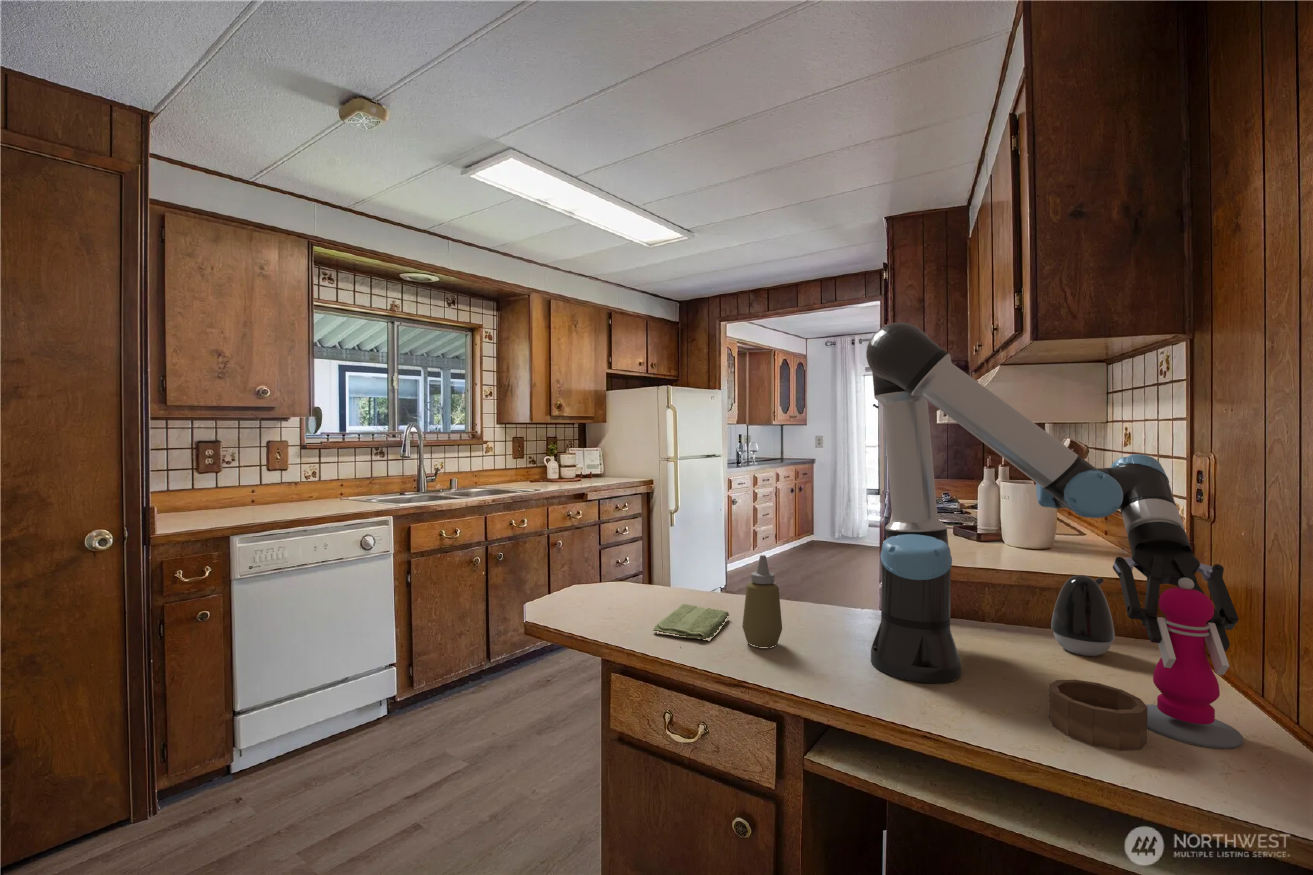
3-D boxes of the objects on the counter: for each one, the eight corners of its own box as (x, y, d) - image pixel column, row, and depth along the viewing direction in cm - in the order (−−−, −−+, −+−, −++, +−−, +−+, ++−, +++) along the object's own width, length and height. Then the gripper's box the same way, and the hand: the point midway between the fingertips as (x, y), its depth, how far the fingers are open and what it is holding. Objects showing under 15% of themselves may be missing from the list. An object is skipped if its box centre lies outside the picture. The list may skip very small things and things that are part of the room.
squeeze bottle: (737, 648, 116) (738, 557, 116) (747, 635, 124) (747, 550, 124) (778, 654, 113) (779, 561, 113) (785, 640, 120) (786, 553, 121)
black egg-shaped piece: (1128, 658, 113) (1128, 579, 113) (1088, 663, 110) (1088, 582, 110) (1077, 640, 123) (1077, 568, 123) (1038, 645, 120) (1039, 571, 120)
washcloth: (650, 637, 123) (650, 621, 123) (680, 614, 140) (680, 601, 140) (709, 646, 118) (709, 630, 118) (733, 621, 134) (733, 607, 134)
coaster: (1119, 721, 87) (1119, 717, 87) (1146, 701, 94) (1146, 698, 94) (1230, 758, 77) (1230, 753, 77) (1251, 732, 84) (1252, 728, 84)
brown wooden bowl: (1036, 724, 86) (1036, 690, 86) (1067, 705, 92) (1068, 674, 92) (1129, 758, 77) (1129, 720, 77) (1156, 735, 83) (1157, 700, 83)
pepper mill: (1233, 729, 81) (1234, 585, 81) (1173, 723, 83) (1174, 582, 83) (1196, 705, 88) (1197, 573, 88) (1141, 701, 90) (1142, 570, 90)
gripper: (1219, 551, 96) (1272, 690, 81) (1085, 542, 103) (1111, 667, 88) (1235, 523, 91) (1294, 665, 76) (1093, 515, 98) (1122, 643, 83)
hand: (1196, 666), depth 82 cm, fingers closed on pepper mill, 5 cm apart
